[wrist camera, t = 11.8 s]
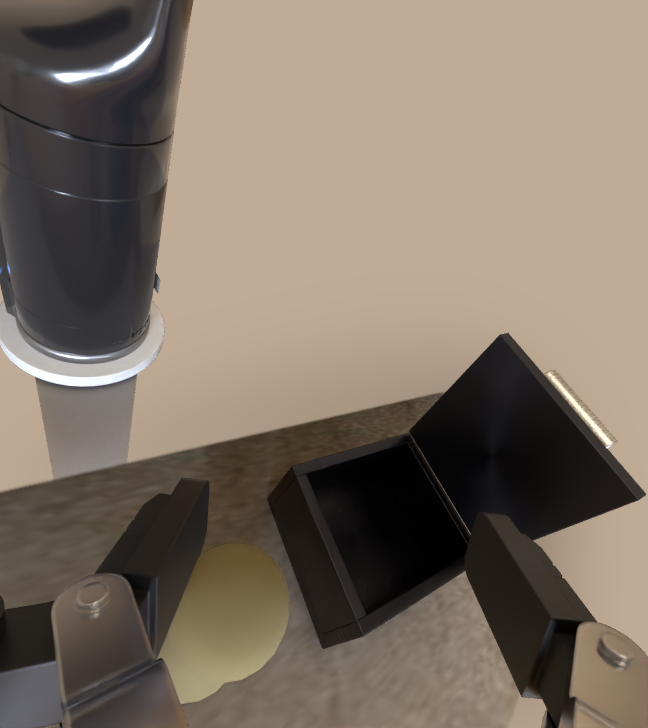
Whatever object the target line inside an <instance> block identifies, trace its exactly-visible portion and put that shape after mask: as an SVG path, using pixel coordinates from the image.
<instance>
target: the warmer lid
mask: <svg viewBox="0 0 648 728" xmlns="http://www.w3.org/2000/svg"><path fill="white" fill-rule="evenodd" d="M409 432H410V434H411V435H412V437H413V438H414V440H415V442H416V443H417V445H418V447H419V448H420V450H421V452H422V453H423V455H424V457H425V458H426V460H427V462H428V463H429V465H430V467H431V468H432V470H433V472H434V473H435V475H436V477H437V478H438V480H439V482H440V483H441V485H442V487H443V488H444V490H445V492H446V493H447V495H448V497H449V498H450V500H451V502H452V503H453V505H454V507H455V508H456V510H457V512H458V513H459V515H460V517H461V518H462V520H463V522H464V523H465V525H466V527H467V528H468V530H469V532H470V533H471V532H472V529H473V525H474V521H475V518H476V516H477V514H478V513H479V512H488V513H497V514H505V515H507V516H508V517H509V518H510V519H511V521H512V522H513V523H514V525H515V526H516V528H517V529H518V530H519V532H520V533H521V534H525V535H526V536H528V537H529V538H530V539H531V540H532V541H533V540H536V539H538V538H541V537H543V536H546V535H548V534H551V533H554V532H557V531H559V530H562V529H564V528H567V527H570V526H572V525H574V524H577V523H580V522H583V521H585V520H588V519H590V518H593V517H596V516H598V515H601V514H603V513H606V512H609V511H611V510H614V509H617V508H619V507H622V506H624V505H627V504H630V503H632V502H635V501H638V500H640V499H641V498H642V497H644V496H645V495H646V493H645V492H644V491H643V490H642V489H641V487H640V486H639V485H638V484H637V483H636V482H635V481H634V479H633V478H632V477H631V476H630V475H629V473H628V472H627V471H626V470H625V469H624V468H623V466H622V465H621V464H620V463H619V462H618V461H617V459H616V458H615V457H614V456H613V455H612V454H611V452H610V451H609V450H608V449H607V448H609V447H610V446H612V445H614V444H616V443H617V442H618V441H617V440H616V439H615V438H614V437H613V435H612V434H611V433H610V432H609V431H608V430H607V428H606V427H604V425H603V424H602V423H601V422H600V420H599V419H598V418H597V417H596V416H595V415H594V414H593V412H592V411H591V410H590V409H589V408H588V407H587V406H586V405H585V403H584V402H583V401H582V400H581V399H580V398H579V397H578V395H577V394H576V393H575V392H574V391H573V390H572V389H571V388H570V387H569V385H568V384H567V383H566V382H565V381H564V380H563V378H562V377H561V376H560V375H559V374H558V373H557V372H556V371H555V370H552V371H549V372H547V373H545V374H543V373H542V372H541V371H540V370H539V368H538V367H537V366H536V365H535V364H534V363H533V361H532V360H531V359H530V358H529V357H528V356H527V354H526V353H525V352H524V351H523V350H522V349H521V347H520V346H519V345H518V344H517V343H516V341H515V340H514V339H513V338H512V337H511V336H510V335H509V333H506V334H501V335H499V336H498V337H497V338H496V340H495V341H494V342H493V343H492V344H491V345H490V346H489V347H488V348H487V349H486V350H485V351H484V352H483V353H482V354H481V355H480V356H479V358H478V359H477V360H476V361H475V362H474V363H473V364H472V365H471V366H470V367H469V368H468V369H467V370H466V371H465V372H464V373H463V374H462V375H461V377H460V378H459V379H458V380H457V381H456V382H455V383H454V384H453V385H452V386H451V387H450V388H449V389H448V390H447V391H446V392H445V393H444V395H443V396H442V397H441V398H440V399H439V400H438V401H437V402H436V403H435V404H434V405H433V406H432V407H431V408H430V409H429V410H428V411H427V413H426V414H425V415H424V416H423V417H422V418H421V419H420V420H419V421H418V422H417V423H416V424H415V425H414V426H413V427H412V428H411V430H410V431H409Z"/></svg>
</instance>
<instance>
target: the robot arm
mask: <svg viewBox="0 0 648 728" xmlns="http://www.w3.org/2000/svg"><path fill="white" fill-rule="evenodd" d="M192 5H193V0H0V285H1V290H2V294H3V299H4V303H5V308H6V312H7V313H9V314H11V315H12V316H14V317H15V319H16V324H17V328H18V331H19V333H20V335H21V336H22V338H23V339H24V340H25V341H26V342H27V343H28V344H29V345H30V346H31V347H32V348H33V349H35V350H36V351H38V352H40V353H42V354H44V355H45V356H48V357H50V358H53V359H56V360H59V361H63V362H68V363H75V364H99V363H105V362H110V361H114V360H117V359H120V358H122V357H125V356H127V355H129V354H130V353H132V352H134V351H135V350H136V349H137V348H139V347H140V346H141V345H142V343H143V342H144V341H145V339H146V337H147V335H148V332H149V326H150V308H151V301H152V295H153V288H155V290H156V292H157V293H158V291H159V284H160V279H159V277H158V275H157V274H156V265H157V257H158V249H159V242H160V234H161V226H162V218H163V211H164V203H165V195H166V189H167V181H168V172H169V165H170V157H171V149H172V142H173V134H174V125H175V117H176V108H177V101H178V95H179V88H180V83H181V78H182V71H183V64H184V57H185V49H186V43H187V36H188V29H189V22H190V16H191V10H192ZM208 501H209V481H208V480H199V479H190V478H182V479H181V480H180V482H179V483H178V485H177V486H176V488H175V490H174V491H173V493H172V494H171V495H169V494H158V495H157V496H155V497H154V498H152V499H151V500H149V501H148V502H146V503H145V504H144V505H143V507H142V508H141V509H140V511H139V512H138V514H137V515H136V516H135V519H134V520H133V521H132V522H131V523H130V525H129V526H128V528H127V530H126V531H125V532H124V533H123V535H122V536H121V537H120V539H119V540H118V542H117V543H116V544H115V546H114V547H113V549H112V550H111V551H110V553H109V554H108V556H107V557H106V558H105V560H104V561H103V563H102V564H101V565H100V567H99V568H98V570H97V571H96V572H95V574H93V575H90V576H87V577H84V578H82V579H80V580H78V581H76V582H74V583H73V584H71V585H70V586H68V587H67V588H66V589H65V590H63V591H62V592H61V594H60V595H59V596H58V597H57V599H56V600H54V601H51V602H47V603H42V604H36V605H30V606H24V607H18V608H12V609H6V610H5V607H4V601H3V599H2V597H1V596H0V728H42V727H46V726H50V725H54V724H57V723H59V728H189V726H188V723H187V720H186V717H185V715H184V712H183V709H182V706H181V703H180V701H179V698H178V695H177V692H176V689H175V687H174V684H173V681H172V678H171V675H170V673H169V670H168V667H167V665H166V663H165V661H164V660H163V659H162V658H159V659H157V658H158V655H159V653H160V650H161V648H162V646H163V643H164V641H165V638H166V636H167V633H168V631H169V628H170V626H171V623H172V621H173V619H174V616H175V614H176V611H177V609H178V606H179V604H180V601H181V599H182V597H183V594H184V592H185V589H186V587H187V584H188V582H189V579H190V577H191V574H192V572H193V570H194V567H195V565H196V562H197V560H198V557H199V555H200V552H201V550H202V547H203V544H204V540H205V536H206V530H207V518H208ZM465 570H466V574H467V577H468V580H469V582H470V584H471V586H472V589H473V591H474V593H475V595H476V597H477V600H478V602H479V604H480V606H481V608H482V611H483V613H484V615H485V617H486V619H487V622H488V624H489V626H490V628H491V630H492V633H493V635H494V637H495V639H496V642H497V644H498V646H499V648H500V650H501V653H502V655H503V657H504V659H505V661H506V664H507V666H508V668H509V670H510V672H511V675H512V677H513V679H514V681H515V683H516V686H517V688H518V690H519V692H520V694H521V697H525V698H537V699H543V701H544V704H545V706H546V708H547V709H546V711H545V714H544V717H543V720H542V725H541V728H648V657H647V655H646V654H645V652H643V650H642V649H641V648H640V647H639V646H638V645H637V644H635V643H634V642H633V641H632V640H631V639H629V638H628V637H627V636H625V635H624V634H622V633H621V632H619V631H617V630H616V629H614V628H611V627H609V626H607V625H604V624H602V623H598V622H597V621H596V620H595V618H594V617H593V616H592V614H591V613H590V612H589V611H588V609H587V608H586V607H585V605H584V604H583V602H582V601H581V600H580V599H579V597H578V596H577V594H576V593H575V592H574V591H573V589H572V588H571V587H570V585H569V584H568V583H567V581H566V580H565V579H564V578H562V575H561V573H560V572H559V571H558V569H557V568H556V567H555V566H553V563H552V562H551V560H550V559H549V557H548V556H547V555H546V553H545V552H544V551H543V549H542V548H541V547H540V546H538V545H537V544H536V543H535V542H534V541H532V540H531V539H530V538H529V537H528V536H526V535H525V534H521V533H520V532H519V530H518V529H517V528H516V526H515V525H514V523H513V522H512V521H511V519H510V518H509V517H508V516H507V515H505V514H497V513H488V512H479V513H478V514H477V516H476V518H475V521H474V525H473V529H472V532H471V536H470V540H469V543H468V547H467V551H466V555H465Z"/></svg>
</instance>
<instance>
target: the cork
mask: <svg viewBox="0 0 648 728" xmlns="http://www.w3.org/2000/svg"><path fill="white" fill-rule="evenodd" d="M289 612H290V602H289V589H288V586H287V583H286V580H285V577H284V574H283V572H282V570H281V569H280V568H279V566H278V565H277V563H276V562H275V560H274V559H273V558H272V557H271V556H269V555H268V554H267V553H265V552H264V551H263V550H262V549H260V548H258V547H255V546H252V545H249V544H246V543H227V544H223V545H220V546H217V547H215V548H212V549H209V550H207V551H206V552H204V553H203V554H202V555H200V556H199V557H198V560H197V562H196V565H195V567H194V570H193V572H192V574H191V577H190V579H189V582H188V584H187V587H186V589H185V592H184V594H183V597H182V599H181V601H180V604H179V606H178V609H177V611H176V614H175V616H174V619H173V621H172V623H171V626H170V628H169V631H168V633H167V636H166V638H165V641H164V643H163V646H162V648H161V650H160V653H159V655H158V658H157V659H159V658H162V659H163V660H164V661H165V663H166V665H167V667H168V670H169V673H170V675H171V678H172V681H173V684H174V687H175V689H176V692H177V695H178V698H179V701H180V703H181V704H185V703H191V702H197V701H201V700H202V699H204V698H206V697H208V696H209V695H211V694H213V693H215V692H216V691H217V690H218V689H219V688H220V687H221V686H222V685H223V684H224V683H225V682H231V681H238V680H242V679H244V678H245V677H247V676H249V675H251V674H253V673H254V672H256V671H258V670H260V669H261V668H262V667H263V665H264V664H265V663H266V662H267V661H268V660H269V659H270V658H271V657H272V656H273V654H274V653H275V652H276V650H277V647H278V645H279V643H280V641H281V639H282V637H283V635H284V633H285V631H286V627H287V622H288V617H289Z"/></svg>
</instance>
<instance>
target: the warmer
mask: <svg viewBox="0 0 648 728" xmlns="http://www.w3.org/2000/svg"><path fill="white" fill-rule="evenodd" d="M267 500H268V502H269V505H270V508H271V510H272V513H273V516H274V519H275V521H276V524H277V527H278V529H279V532H280V535H281V537H282V540H283V543H284V546H285V548H286V551H287V554H288V556H289V559H290V562H291V564H292V567H293V570H294V573H295V575H296V578H297V581H298V583H299V586H300V589H301V591H302V594H303V597H304V600H305V602H306V605H307V608H308V610H309V613H310V616H311V619H312V621H313V624H314V627H315V629H316V632H317V635H318V637H319V640H320V643H321V646H322V648H323V649H325V648H328V647H331V646H334V645H338V644H341V643H344V642H347V641H351V640H354V639H357V638H360V637H363V636H365V635H367V634H368V633H370V632H371V631H373V630H374V629H376V628H378V627H379V626H381V625H382V624H384V623H385V622H387V621H388V620H390V619H391V618H393V617H395V616H396V615H398V614H399V613H401V612H402V611H404V610H405V609H407V608H408V607H410V606H412V605H413V604H415V603H416V602H418V601H419V600H421V599H422V598H424V597H425V596H427V595H429V594H430V593H432V592H433V591H435V590H436V589H438V588H439V587H441V586H443V585H444V584H446V583H447V582H449V581H450V580H452V579H453V578H455V577H456V576H458V575H460V574H461V573H463V572H464V571H466V570H465V555H466V551H467V547H468V543H469V540H470V536H471V535H470V533H469V532H468V530H467V528H466V527H465V525H464V523H463V522H462V520H461V518H460V517H459V515H458V513H457V512H456V510H455V508H454V507H453V505H452V503H451V502H450V500H449V498H448V497H447V495H446V493H445V492H444V490H443V488H442V487H441V485H440V483H439V482H438V480H437V478H436V477H435V475H434V473H433V472H432V470H431V468H430V467H429V465H428V463H427V462H426V460H425V458H424V457H423V455H422V453H421V452H420V450H419V448H418V447H417V445H416V443H415V442H414V440H413V438H412V436H411V435H410V433H407V434H403V435H400V436H396V437H393V438H389V439H386V440H382V441H378V442H375V443H371V444H368V445H364V446H361V447H357V448H354V449H350V450H347V451H343V452H340V453H336V454H333V455H329V456H326V457H322V458H319V459H315V460H312V461H308V462H305V463H301V464H298V465H294V466H292V467H291V468H290V469H289V471H288V472H287V473H286V475H285V476H284V477H283V478H282V480H281V481H280V482H279V484H278V485H277V486H276V488H275V489H274V490H273V491H272V493H271V494H270V495H269V497H268V498H267Z"/></svg>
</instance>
